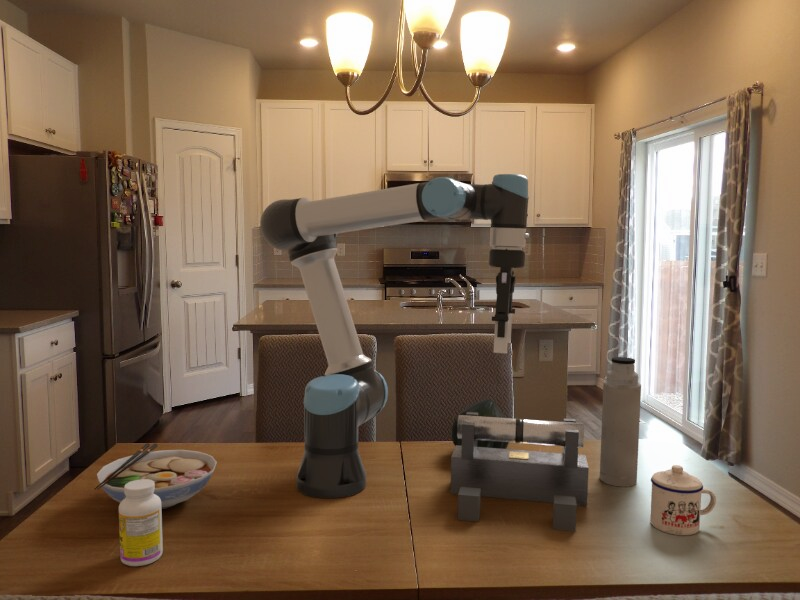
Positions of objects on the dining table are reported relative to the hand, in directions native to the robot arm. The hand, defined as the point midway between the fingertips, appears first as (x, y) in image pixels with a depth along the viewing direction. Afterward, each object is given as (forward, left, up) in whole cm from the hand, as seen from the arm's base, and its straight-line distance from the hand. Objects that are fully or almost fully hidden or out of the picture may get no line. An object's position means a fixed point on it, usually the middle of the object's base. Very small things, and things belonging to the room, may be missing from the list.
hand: (502, 347), depth 138 cm
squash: (-6, +20, -31) cm, 37 cm away
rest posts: (+4, -17, -31) cm, 35 cm away
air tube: (+4, -3, -20) cm, 20 cm away
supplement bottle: (-57, -46, -31) cm, 79 cm away
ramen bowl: (-67, -25, -31) cm, 78 cm away
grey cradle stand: (+4, -3, -31) cm, 31 cm away
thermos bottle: (+26, +10, -31) cm, 42 cm away
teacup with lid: (+35, -12, -31) cm, 48 cm away
